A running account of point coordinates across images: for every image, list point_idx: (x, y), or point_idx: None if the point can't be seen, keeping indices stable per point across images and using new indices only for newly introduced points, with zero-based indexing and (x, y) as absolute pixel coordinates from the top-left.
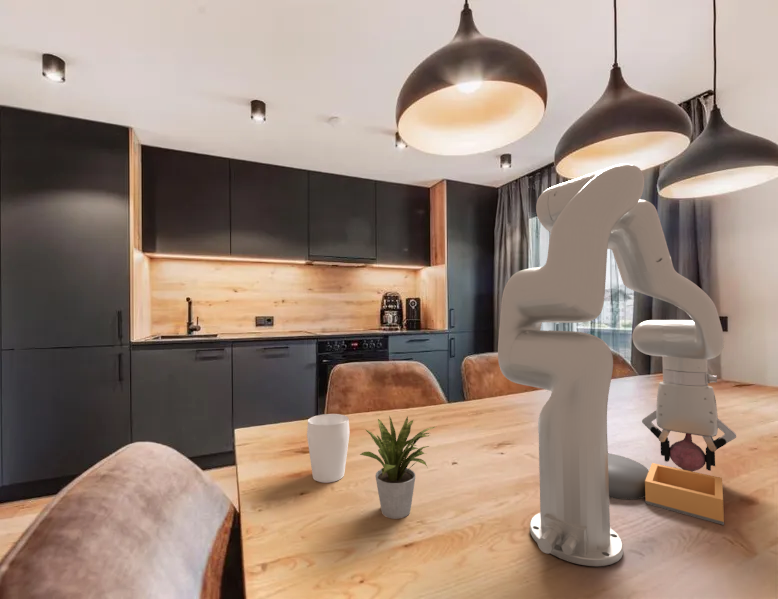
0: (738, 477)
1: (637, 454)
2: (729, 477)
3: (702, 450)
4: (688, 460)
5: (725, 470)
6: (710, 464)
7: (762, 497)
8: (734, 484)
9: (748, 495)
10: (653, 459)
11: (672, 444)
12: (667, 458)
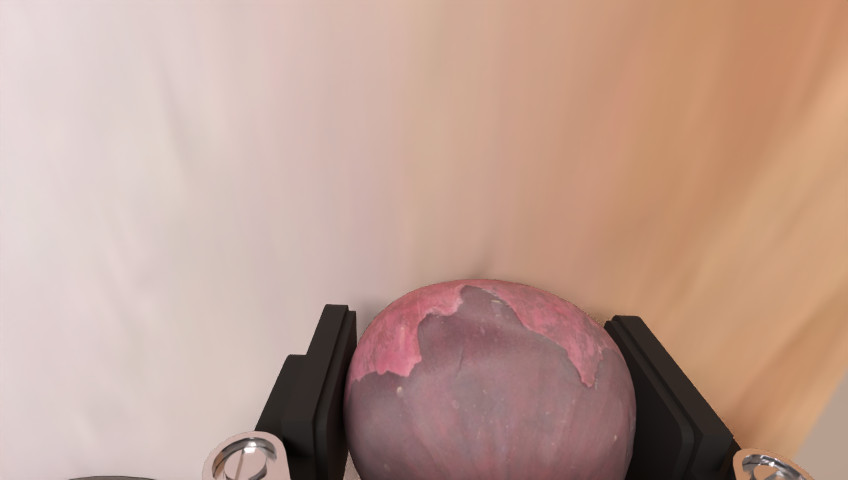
0: (792, 153)
1: (92, 65)
2: (724, 194)
3: (629, 439)
4: None
5: (752, 31)
6: None
7: (788, 407)
8: (710, 308)
9: (726, 420)
10: (233, 122)
11: (365, 459)
12: None
